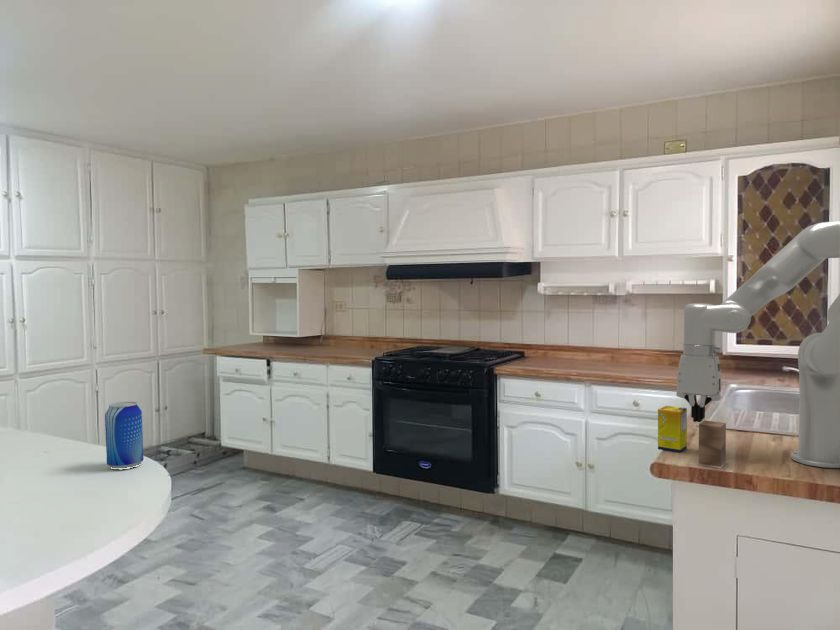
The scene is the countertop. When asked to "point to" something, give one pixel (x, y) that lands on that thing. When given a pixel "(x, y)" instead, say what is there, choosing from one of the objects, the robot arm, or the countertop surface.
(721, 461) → the walnut block
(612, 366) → the countertop surface
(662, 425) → the supplement box
